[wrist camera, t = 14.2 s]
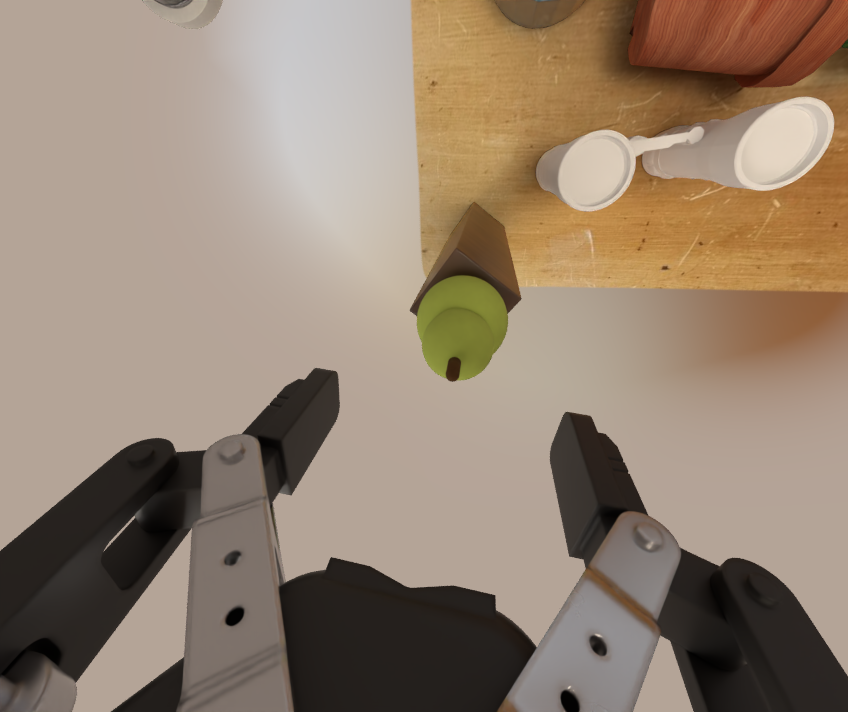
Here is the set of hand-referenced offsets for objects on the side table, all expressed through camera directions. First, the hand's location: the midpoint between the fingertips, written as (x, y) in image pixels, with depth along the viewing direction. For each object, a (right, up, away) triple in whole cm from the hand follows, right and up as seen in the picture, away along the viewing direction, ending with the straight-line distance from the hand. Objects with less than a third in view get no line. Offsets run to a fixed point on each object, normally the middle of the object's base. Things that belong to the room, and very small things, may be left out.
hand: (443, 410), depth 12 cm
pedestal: (+6, +19, +34) cm, 39 cm away
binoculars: (+21, +25, +28) cm, 43 cm away
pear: (+2, +5, +10) cm, 11 cm away
